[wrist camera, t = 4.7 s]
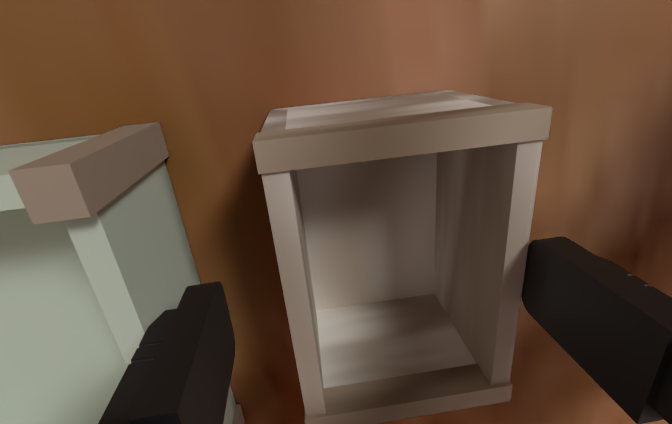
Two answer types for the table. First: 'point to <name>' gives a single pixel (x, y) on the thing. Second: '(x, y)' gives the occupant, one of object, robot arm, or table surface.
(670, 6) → the table surface
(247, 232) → the table surface
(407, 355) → the small crate
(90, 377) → the large crate
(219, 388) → the robot arm
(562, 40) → the table surface
